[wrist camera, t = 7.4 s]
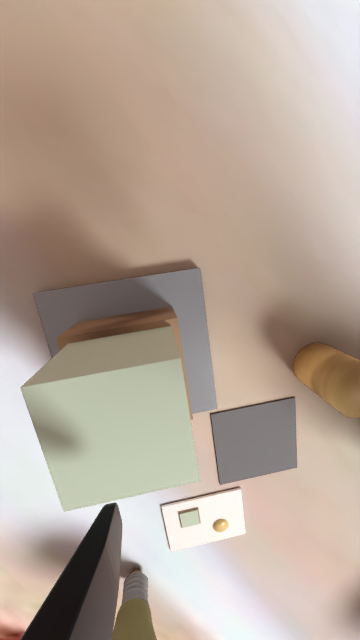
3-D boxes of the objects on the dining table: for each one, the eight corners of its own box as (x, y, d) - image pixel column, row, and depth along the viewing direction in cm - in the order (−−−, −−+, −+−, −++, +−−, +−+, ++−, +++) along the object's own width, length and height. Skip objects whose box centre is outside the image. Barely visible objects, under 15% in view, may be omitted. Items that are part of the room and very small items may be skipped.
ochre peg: (335, 339, 21) (389, 361, 16) (334, 379, 22) (385, 411, 17) (292, 347, 21) (335, 372, 16) (293, 387, 22) (334, 422, 17)
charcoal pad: (294, 397, 22) (295, 397, 22) (296, 466, 24) (297, 467, 24) (210, 414, 21) (211, 414, 21) (219, 483, 23) (220, 484, 23)
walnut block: (172, 306, 18) (177, 317, 14) (184, 388, 19) (192, 419, 16) (78, 321, 17) (56, 338, 13) (99, 404, 19) (86, 440, 15)
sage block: (170, 325, 14) (180, 358, 9) (185, 412, 15) (200, 481, 10) (68, 343, 13) (20, 387, 9) (92, 431, 15) (63, 511, 10)
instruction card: (240, 487, 23) (241, 491, 23) (244, 531, 25) (246, 535, 25) (161, 505, 23) (161, 509, 22) (170, 549, 24) (171, 554, 24)
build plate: (198, 267, 18) (200, 267, 17) (215, 403, 21) (217, 408, 20) (38, 292, 17) (32, 293, 16) (79, 430, 20) (76, 437, 19)
